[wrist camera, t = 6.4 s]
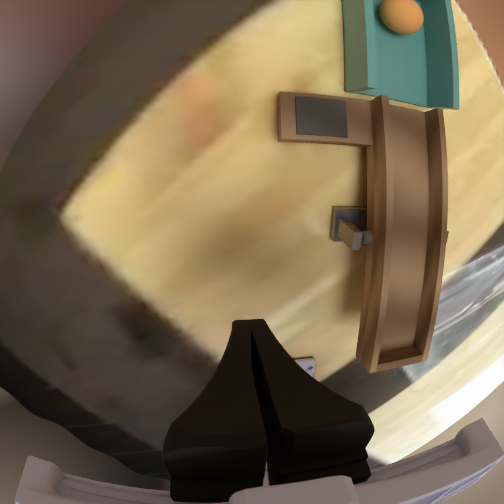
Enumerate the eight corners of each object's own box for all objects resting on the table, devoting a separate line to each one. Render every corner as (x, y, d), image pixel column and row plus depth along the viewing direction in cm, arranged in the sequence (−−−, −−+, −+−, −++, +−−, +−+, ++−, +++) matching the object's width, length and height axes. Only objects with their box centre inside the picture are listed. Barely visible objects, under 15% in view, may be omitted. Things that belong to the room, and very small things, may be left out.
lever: (415, 344, 21) (431, 358, 19) (278, 365, 20) (285, 385, 18) (427, 117, 18) (448, 111, 16) (277, 96, 17) (285, 82, 14)
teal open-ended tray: (430, 108, 18) (459, 109, 15) (344, 91, 18) (367, 86, 14) (423, 0, 14) (448, -11, 11) (339, -27, 13) (358, -46, 10)
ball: (438, 15, 12) (417, -4, 13) (398, 0, 11) (379, -18, 12) (420, 47, 15) (403, 25, 16) (383, 35, 14) (367, 15, 15)
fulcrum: (420, 236, 23) (445, 254, 19) (330, 238, 22) (348, 259, 19) (425, 209, 22) (451, 223, 18) (333, 206, 21) (353, 223, 18)
